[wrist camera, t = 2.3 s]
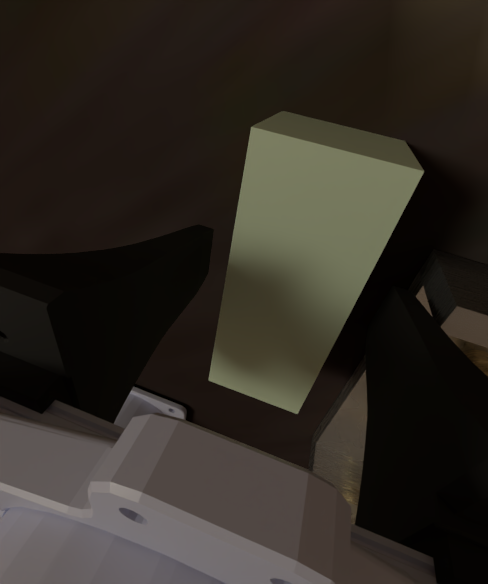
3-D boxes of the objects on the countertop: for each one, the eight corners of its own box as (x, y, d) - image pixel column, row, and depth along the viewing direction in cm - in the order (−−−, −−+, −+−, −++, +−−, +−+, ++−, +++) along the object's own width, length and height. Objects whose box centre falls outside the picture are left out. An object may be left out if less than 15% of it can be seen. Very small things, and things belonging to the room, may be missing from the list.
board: (309, 347, 16) (297, 414, 13) (237, 322, 17) (208, 380, 13) (404, 139, 10) (424, 171, 7) (284, 110, 10) (251, 126, 7)
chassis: (457, 491, 19) (473, 563, 16) (312, 435, 20) (305, 494, 17) (714, 331, 10) (845, 427, 7) (433, 249, 11) (457, 306, 9)
